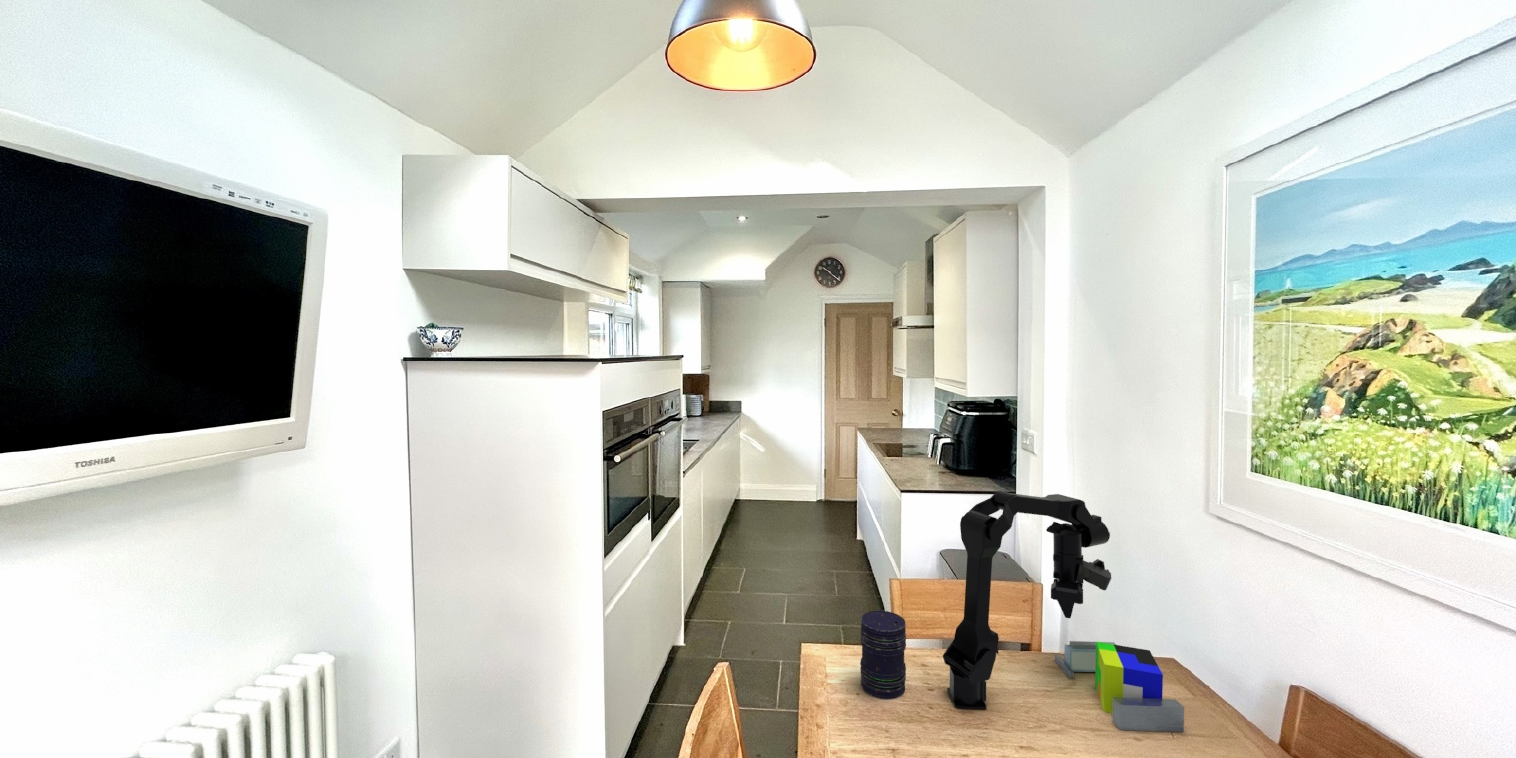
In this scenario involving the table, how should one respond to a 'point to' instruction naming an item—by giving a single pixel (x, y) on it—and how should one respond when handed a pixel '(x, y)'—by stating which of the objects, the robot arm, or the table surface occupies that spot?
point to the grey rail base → (1142, 711)
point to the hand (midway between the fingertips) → (1067, 616)
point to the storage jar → (883, 654)
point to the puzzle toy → (1126, 674)
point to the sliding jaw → (1081, 656)
